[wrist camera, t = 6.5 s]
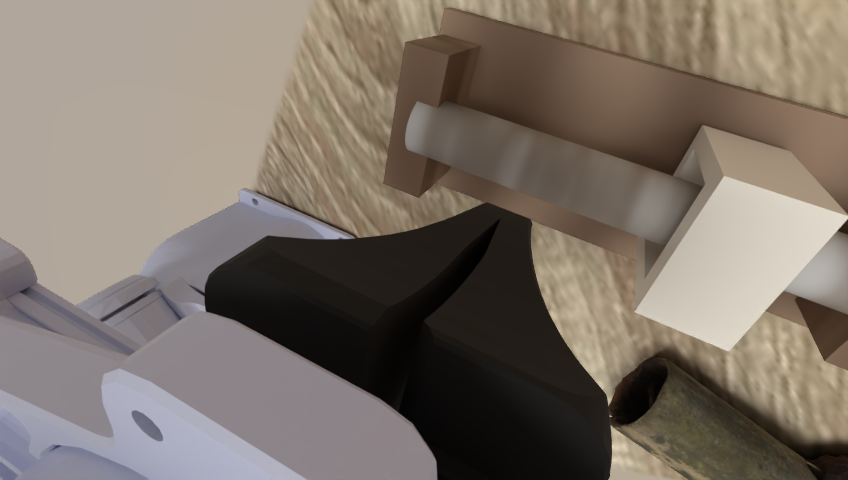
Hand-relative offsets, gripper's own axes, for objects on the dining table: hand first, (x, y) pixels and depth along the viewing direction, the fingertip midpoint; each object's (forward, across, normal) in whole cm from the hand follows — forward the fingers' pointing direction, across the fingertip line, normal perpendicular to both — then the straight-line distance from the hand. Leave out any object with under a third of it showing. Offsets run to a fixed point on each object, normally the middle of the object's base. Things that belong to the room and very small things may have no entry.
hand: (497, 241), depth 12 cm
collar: (+9, -6, 0) cm, 11 cm away
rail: (+10, -4, 0) cm, 11 cm away
